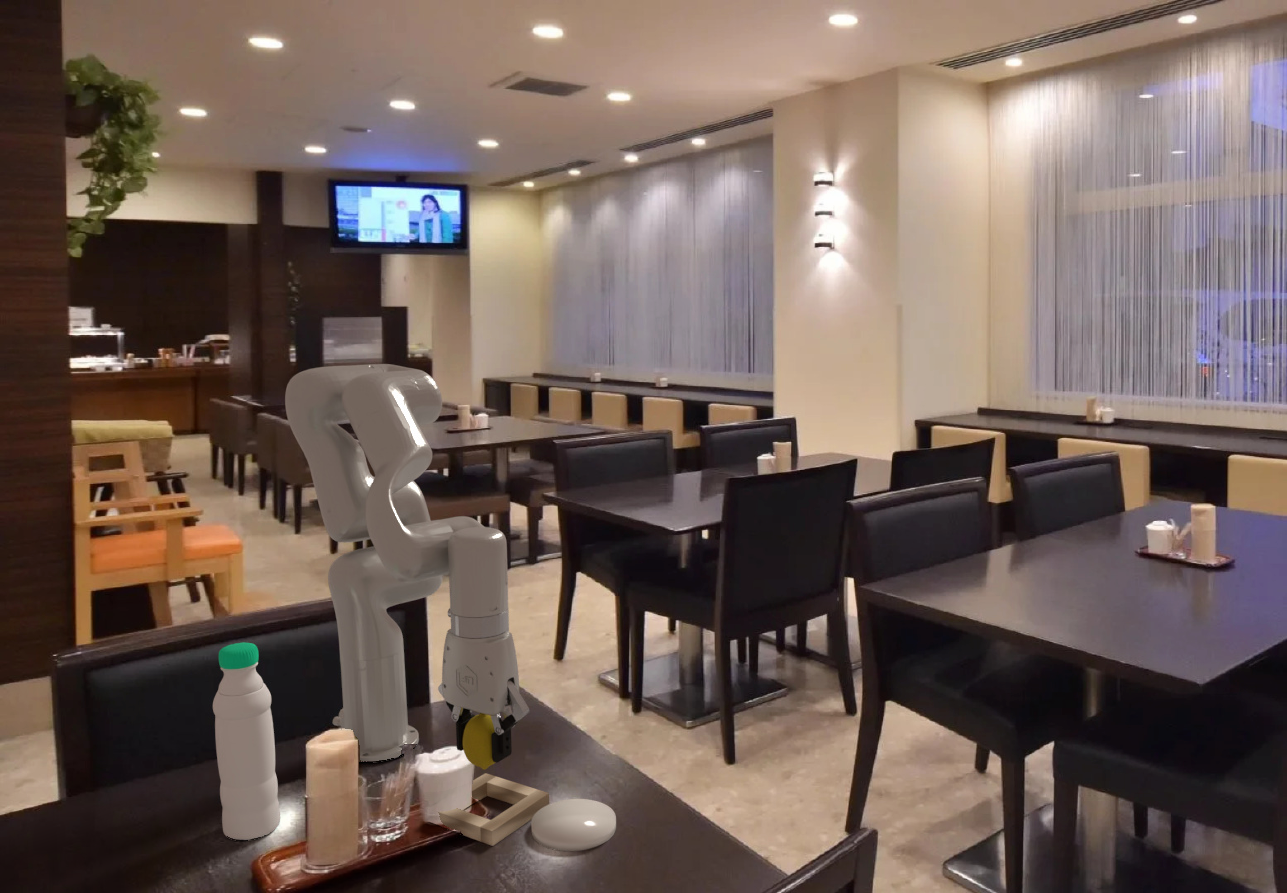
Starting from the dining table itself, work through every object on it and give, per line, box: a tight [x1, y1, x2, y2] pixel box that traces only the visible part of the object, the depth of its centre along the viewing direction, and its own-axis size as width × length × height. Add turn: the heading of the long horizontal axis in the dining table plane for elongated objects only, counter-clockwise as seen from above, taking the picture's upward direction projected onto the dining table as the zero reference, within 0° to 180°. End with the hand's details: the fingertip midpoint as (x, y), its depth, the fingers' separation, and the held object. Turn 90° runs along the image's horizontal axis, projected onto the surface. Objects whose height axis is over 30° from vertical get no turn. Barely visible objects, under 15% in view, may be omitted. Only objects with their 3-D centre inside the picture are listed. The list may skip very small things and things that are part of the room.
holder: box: [438, 772, 550, 847], centre depth 131 cm, size 12×12×2 cm
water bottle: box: [212, 642, 281, 839], centre depth 127 cm, size 7×7×25 cm
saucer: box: [530, 798, 617, 852], centre depth 127 cm, size 11×11×1 cm
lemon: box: [462, 713, 496, 770], centre depth 130 cm, size 6×6×8 cm
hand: (484, 751), depth 130 cm, fingers closed on lemon, 5 cm apart
